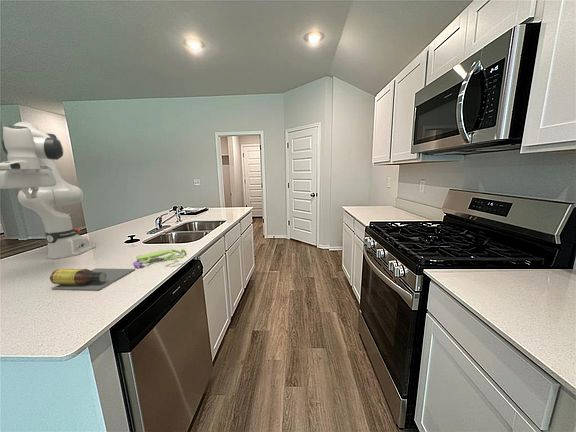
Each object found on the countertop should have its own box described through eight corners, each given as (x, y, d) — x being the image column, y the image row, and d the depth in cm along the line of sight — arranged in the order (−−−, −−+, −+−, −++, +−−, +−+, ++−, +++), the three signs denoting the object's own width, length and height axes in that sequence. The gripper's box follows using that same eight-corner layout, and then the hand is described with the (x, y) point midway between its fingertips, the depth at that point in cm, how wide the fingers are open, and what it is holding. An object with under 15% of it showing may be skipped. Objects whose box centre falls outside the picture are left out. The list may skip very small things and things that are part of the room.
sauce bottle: (65, 274, 103) (112, 275, 103) (55, 287, 98) (103, 288, 98) (56, 265, 99) (104, 266, 98) (44, 278, 94) (95, 279, 94)
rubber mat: (95, 269, 115) (95, 268, 115) (135, 270, 113) (135, 268, 113) (52, 289, 95) (51, 288, 95) (98, 290, 94) (98, 289, 94)
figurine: (181, 267, 116) (180, 256, 115) (122, 270, 114) (121, 259, 113) (192, 254, 134) (191, 245, 133) (141, 257, 132) (140, 247, 131)
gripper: (44, 166, 112) (50, 195, 115) (-13, 165, 92) (-5, 201, 95) (56, 165, 112) (62, 195, 114) (1, 164, 92) (10, 200, 94)
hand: (31, 198), depth 104 cm, fingers closed
